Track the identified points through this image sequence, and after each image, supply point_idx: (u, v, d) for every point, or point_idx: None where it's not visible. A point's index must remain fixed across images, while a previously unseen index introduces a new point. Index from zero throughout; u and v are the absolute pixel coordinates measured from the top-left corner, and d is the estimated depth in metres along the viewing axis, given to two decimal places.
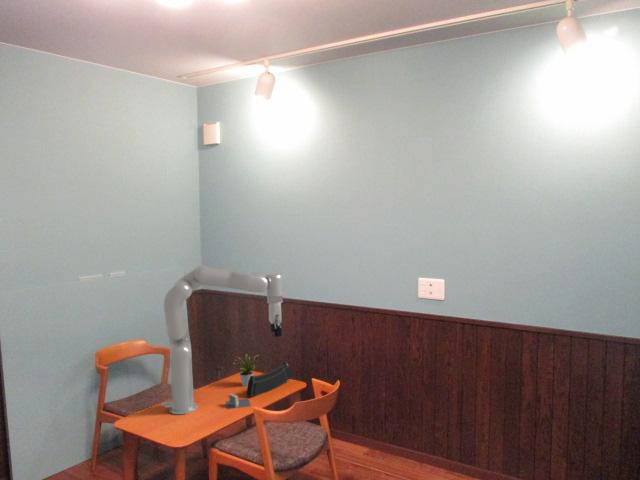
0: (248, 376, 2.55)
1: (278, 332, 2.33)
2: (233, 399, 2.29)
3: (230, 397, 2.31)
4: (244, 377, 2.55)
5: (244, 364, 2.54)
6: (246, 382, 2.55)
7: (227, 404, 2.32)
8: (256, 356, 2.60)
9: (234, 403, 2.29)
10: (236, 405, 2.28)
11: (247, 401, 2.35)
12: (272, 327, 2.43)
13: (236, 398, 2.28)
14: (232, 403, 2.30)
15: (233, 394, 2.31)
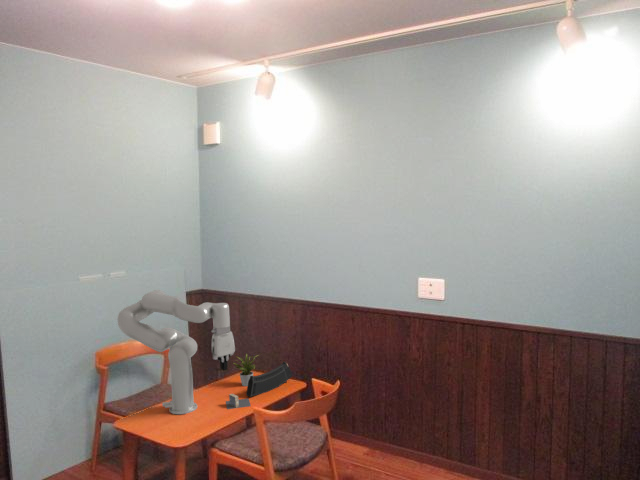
0: (248, 376, 2.55)
1: None
2: (233, 399, 2.29)
3: (230, 397, 2.31)
4: (244, 377, 2.55)
5: (244, 364, 2.54)
6: (246, 382, 2.55)
7: (227, 404, 2.32)
8: (256, 356, 2.60)
9: (234, 403, 2.29)
10: (236, 405, 2.28)
11: (247, 401, 2.35)
12: None
13: (236, 398, 2.28)
14: (232, 403, 2.30)
15: (233, 394, 2.31)
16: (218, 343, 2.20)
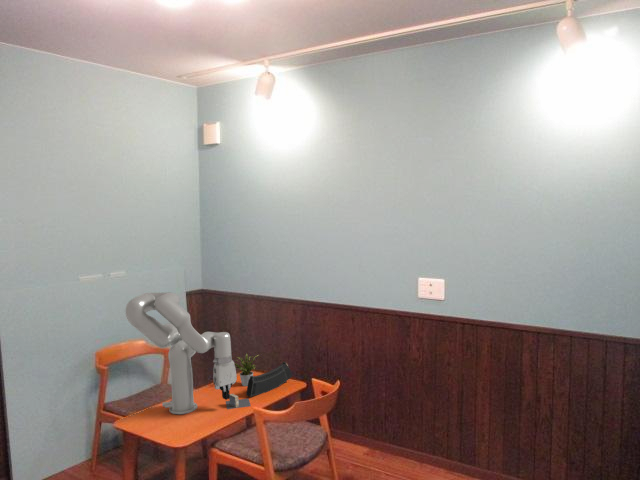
0: (248, 376, 2.55)
1: None
2: (233, 399, 2.29)
3: (230, 397, 2.31)
4: (244, 377, 2.55)
5: (244, 364, 2.54)
6: (246, 382, 2.55)
7: (227, 404, 2.32)
8: (256, 356, 2.60)
9: (234, 403, 2.29)
10: (236, 405, 2.28)
11: (247, 401, 2.35)
12: None
13: (236, 398, 2.28)
14: (232, 403, 2.30)
15: (233, 394, 2.31)
16: (220, 373, 2.21)
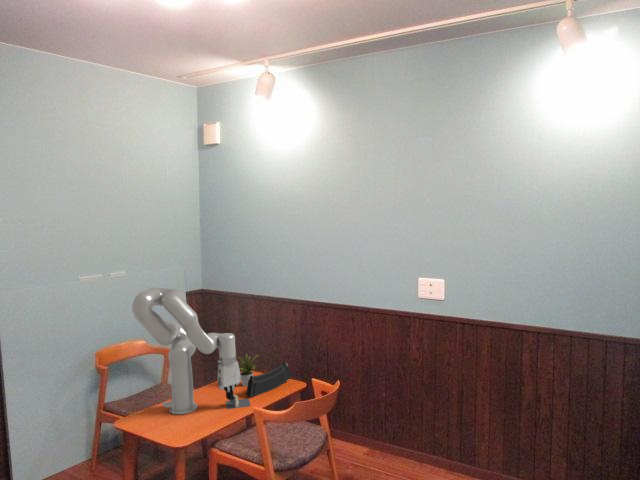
0: (248, 376, 2.55)
1: None
2: (233, 399, 2.29)
3: None
4: (244, 377, 2.55)
5: (244, 364, 2.54)
6: (246, 382, 2.55)
7: (227, 404, 2.32)
8: (256, 356, 2.60)
9: (234, 403, 2.29)
10: (236, 405, 2.28)
11: (247, 401, 2.35)
12: None
13: (236, 398, 2.28)
14: (232, 403, 2.30)
15: (233, 394, 2.31)
16: (224, 373, 2.23)
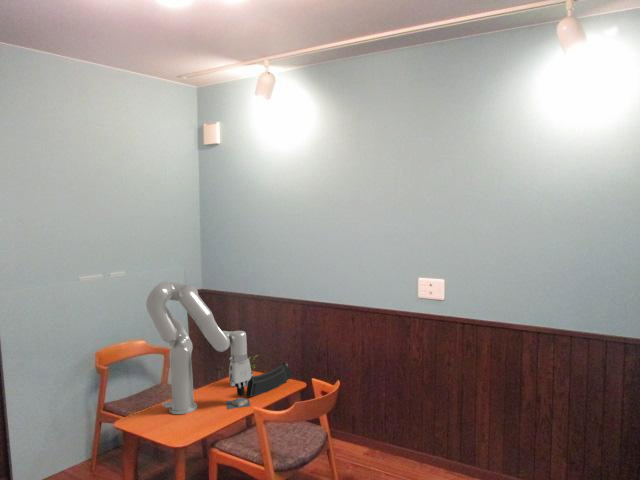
0: None
1: None
2: (242, 399, 2.33)
3: (240, 398, 2.35)
4: None
5: None
6: None
7: (227, 404, 2.32)
8: (256, 356, 2.60)
9: (240, 401, 2.31)
10: (239, 403, 2.30)
11: (247, 401, 2.35)
12: None
13: (245, 401, 2.32)
14: (237, 400, 2.32)
15: None
16: (236, 370, 2.28)
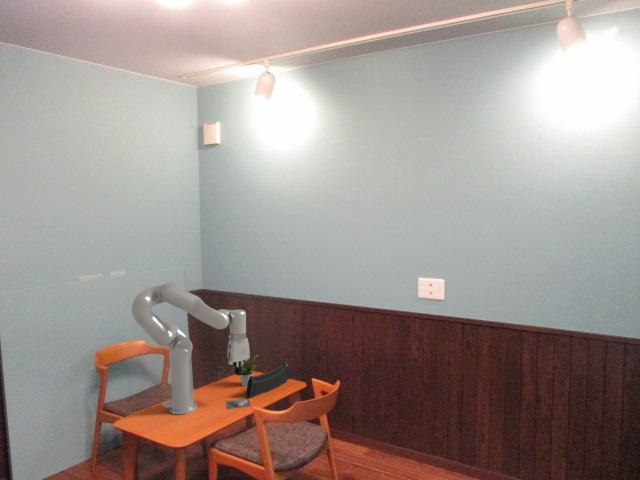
0: (248, 376, 2.55)
1: None
2: (242, 399, 2.33)
3: (240, 398, 2.35)
4: (244, 377, 2.55)
5: (244, 364, 2.54)
6: (246, 382, 2.55)
7: (227, 404, 2.32)
8: (256, 356, 2.60)
9: (240, 401, 2.31)
10: (239, 403, 2.30)
11: (247, 401, 2.35)
12: None
13: (245, 401, 2.32)
14: (237, 400, 2.32)
15: None
16: (234, 349, 2.27)
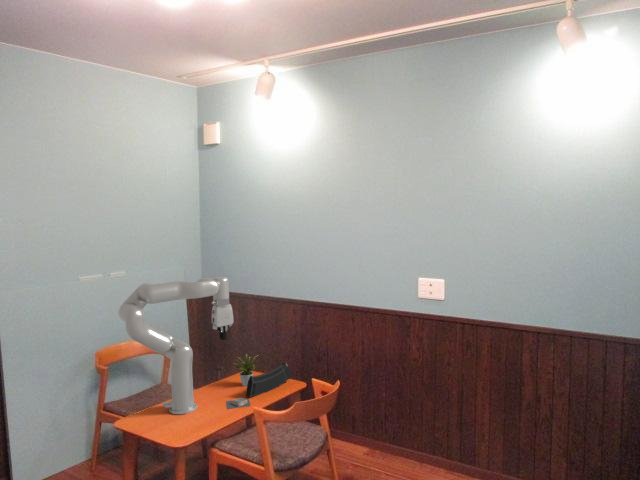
0: (248, 376, 2.55)
1: None
2: (242, 399, 2.33)
3: (240, 398, 2.35)
4: (244, 377, 2.55)
5: (244, 364, 2.54)
6: (246, 382, 2.55)
7: (227, 404, 2.32)
8: (256, 356, 2.60)
9: (240, 401, 2.31)
10: (239, 403, 2.30)
11: (247, 401, 2.35)
12: None
13: (245, 401, 2.32)
14: (237, 400, 2.32)
15: None
16: (218, 314, 2.35)
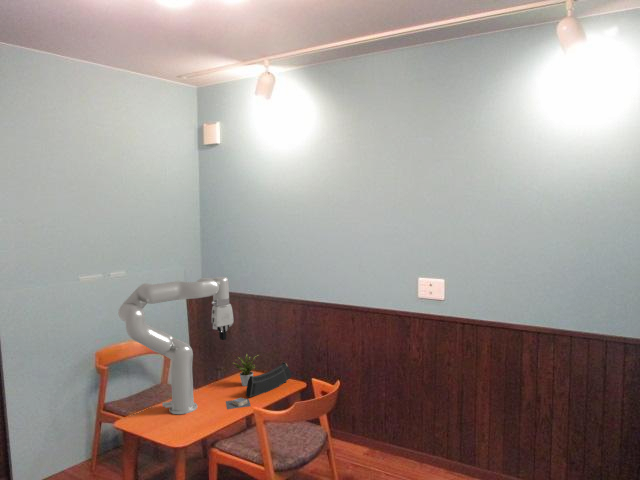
0: (248, 376, 2.55)
1: None
2: (242, 399, 2.33)
3: (240, 398, 2.35)
4: (244, 377, 2.55)
5: (244, 364, 2.54)
6: (246, 382, 2.55)
7: (227, 404, 2.32)
8: (256, 356, 2.60)
9: (240, 401, 2.31)
10: (239, 403, 2.30)
11: (247, 401, 2.35)
12: None
13: (245, 401, 2.32)
14: (237, 400, 2.32)
15: None
16: (218, 314, 2.35)
